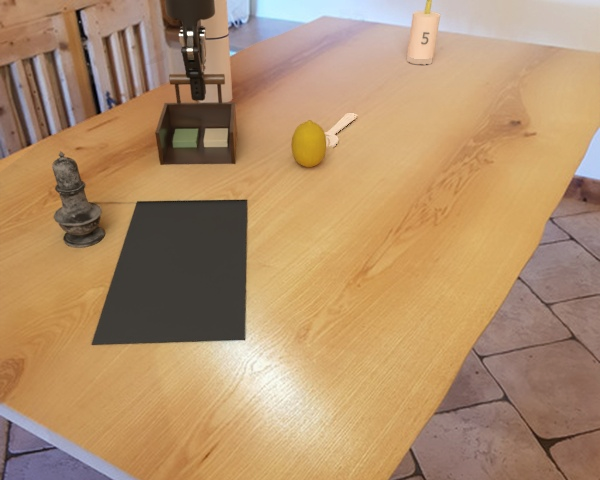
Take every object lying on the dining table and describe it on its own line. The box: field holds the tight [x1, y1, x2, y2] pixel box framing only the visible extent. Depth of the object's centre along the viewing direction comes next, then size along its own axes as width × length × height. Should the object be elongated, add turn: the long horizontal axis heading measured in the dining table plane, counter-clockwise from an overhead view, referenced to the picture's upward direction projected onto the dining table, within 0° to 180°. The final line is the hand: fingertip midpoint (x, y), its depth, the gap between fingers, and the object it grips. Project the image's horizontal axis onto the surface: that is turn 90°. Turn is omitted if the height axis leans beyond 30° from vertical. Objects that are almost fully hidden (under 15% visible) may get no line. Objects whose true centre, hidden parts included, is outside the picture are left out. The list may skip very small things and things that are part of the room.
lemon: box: [290, 119, 327, 168], centre depth 86 cm, size 6×6×8 cm
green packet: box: [172, 129, 199, 148], centre depth 94 cm, size 5×4×1 cm
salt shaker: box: [51, 151, 106, 248], centre depth 69 cm, size 6×6×12 cm
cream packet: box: [204, 128, 229, 147], centre depth 94 cm, size 5×4×1 cm
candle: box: [406, 0, 441, 59], centre depth 129 cm, size 6×6×15 cm
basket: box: [154, 73, 238, 166], centre depth 90 cm, size 12×12×11 cm
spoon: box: [324, 112, 358, 149], centre depth 100 cm, size 5×18×1 cm, turn 152°
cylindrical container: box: [198, 0, 233, 103], centre depth 103 cm, size 7×7×25 cm
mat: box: [91, 199, 248, 346], centre depth 73 cm, size 40×16×1 cm, turn 4°
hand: (199, 97), depth 93 cm, fingers closed on basket
